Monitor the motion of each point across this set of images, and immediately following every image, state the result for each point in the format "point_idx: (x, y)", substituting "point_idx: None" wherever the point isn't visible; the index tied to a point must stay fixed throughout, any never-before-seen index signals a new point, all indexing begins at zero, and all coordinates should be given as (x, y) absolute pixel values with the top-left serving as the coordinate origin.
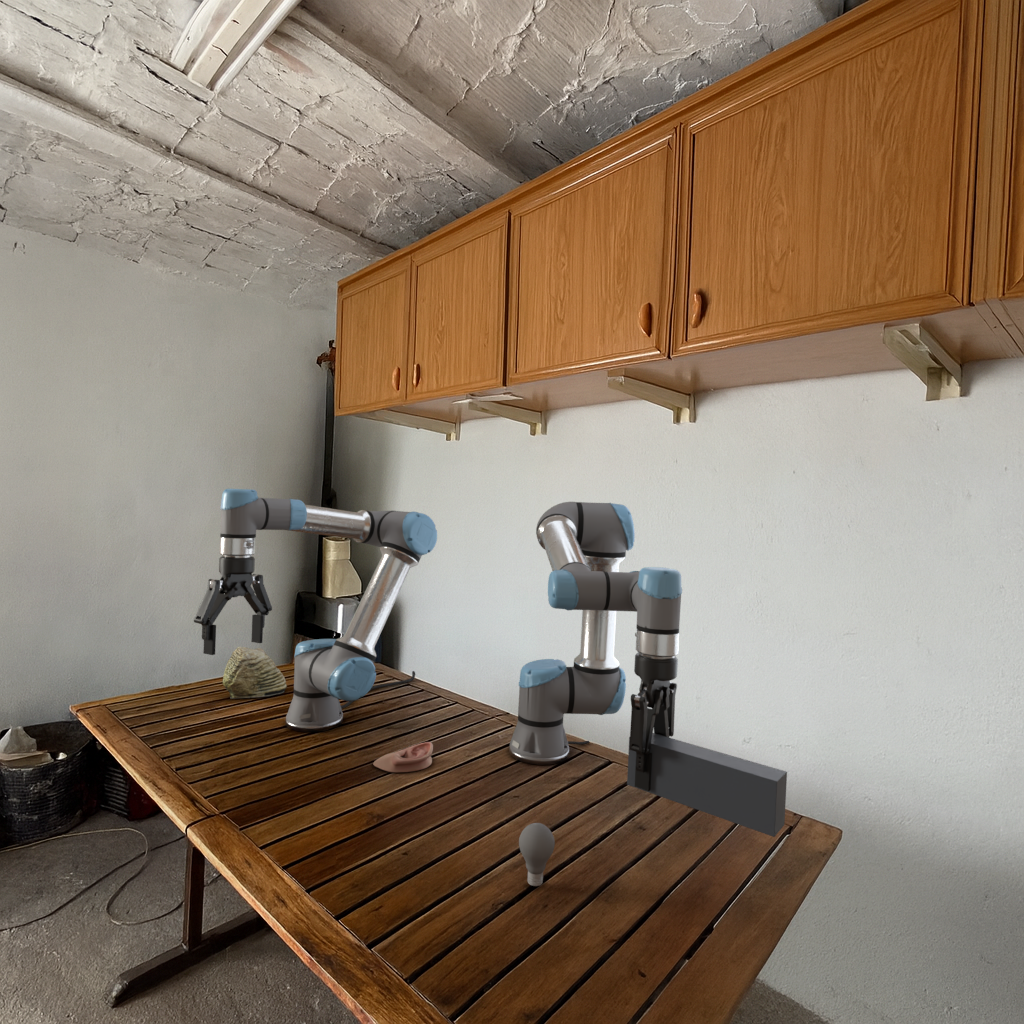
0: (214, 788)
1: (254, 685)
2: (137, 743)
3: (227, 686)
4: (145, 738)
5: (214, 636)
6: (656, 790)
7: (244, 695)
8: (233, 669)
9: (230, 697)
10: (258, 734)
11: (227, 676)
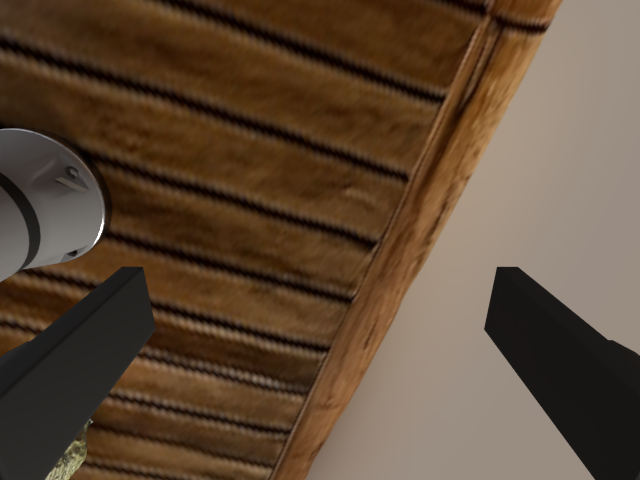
0: (405, 118)
1: None
2: (327, 379)
3: (84, 444)
4: (306, 385)
5: (587, 335)
6: None
7: None
8: (50, 473)
9: (91, 422)
10: (174, 248)
11: (70, 466)
